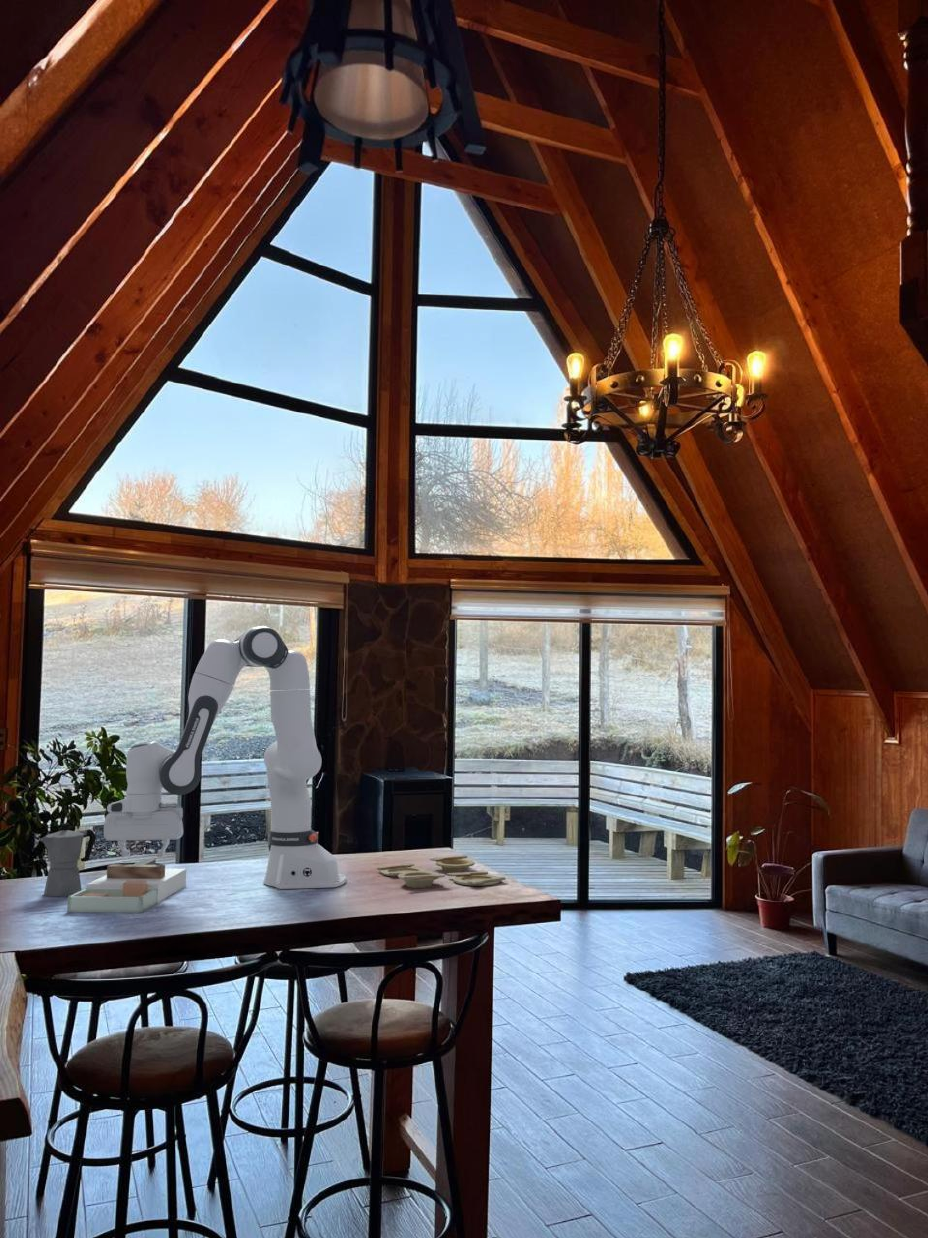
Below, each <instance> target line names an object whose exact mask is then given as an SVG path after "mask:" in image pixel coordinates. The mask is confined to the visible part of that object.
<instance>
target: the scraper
mask: <svg viewBox="0 0 928 1238" xmlns="http://www.w3.org/2000/svg"><path fill="white" fill-rule="evenodd" d="M156 859H157V858H143V859H141V860H140V861H137V862H136V863H134V864H133V863H132V864H127V863H126V864H121V863H120V864H117V863H116V864H110V865H108V866H107V867H106V875H107V878H116V879H161V878H163V877H165V869H166V865H165V864H157V863H156Z"/></svg>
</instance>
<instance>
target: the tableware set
mask: <svg viewBox="0 0 928 1238" xmlns="http://www.w3.org/2000/svg"><path fill="white" fill-rule="evenodd" d="M467 858H468V855H466V854H464V855H463V854H462V855H455V856H445V857H438V856H437V857H435V856H434V857H430V858H429V860H430V861H432V862H435V866H438V867H440V868H441V869H442V871H443V873H438V872H432V871H430V870H429V871H428V870H427V869H425V868H422V867H418V866H415V864H414V863H410V862H409V863H408V862H407V863H400V864H397V865H396V864H394V865H385V866H377V867H376V870H378V871H380V874H381V875H383V876H388V877H392V878H393V877H395V878H399V879H400V880H403V882H404V884H405V885H406V887H408V888H413V889H414V888H415V889H423V888H424V889H425V888H430V887H432V885H433V883H434V881H435V880H438V879H440V878H445V877H446V876H447V877H453V879H452V881H453V882H454V883H456V884H457V885H464V886H470V887H471V886H472V887H473V886H474V887H475V886H477V887H479V886H481V887H482V886H485V887H487V886H493V885H497V884H500V883H502V881H506V880H507V879H506V876H497V875H492V874H489V871H487V870H486V871H468V869H469V868H470V867H473V866H475V863H476V862H475V861H474V860H472V859H467ZM445 873H446V874H445Z"/></svg>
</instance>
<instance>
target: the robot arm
mask: <svg viewBox="0 0 928 1238" xmlns="http://www.w3.org/2000/svg"><path fill="white" fill-rule="evenodd" d="M244 667H250V668H265V669H266V671H267V674H268V676H269V682H270V683H269V696H270V697H269V698H270V699H269V701H270V703H269V705H270V720H271V723H272V726H273V729H274V734H275V738H276V741H274V742H272V743H270V744H269V745H268V746H267V748H266V749H265V751H264V754H263V763H264V766H265V767H266V776H267V784H268V789H269V790H268V791H269V798H270V830H269V831H268V836H267V837H268V838H267V847H268V860H267V867H266V871H265V876H264V879H263V885H267V886H269V887H275V888H277V889H280V890H281V889H282V890H285V889H290V890H291V889H317V888H318V889H320V888H321V889H322V888H324V889H325V888H337V887H341V886H342V885H344V884H345V883H347V876H346V875H345V874H341V873H339V872H340V871H339V865H338V862H337V859H336V857H335V856H334V855H333V854H332V853H331V852H329V851H328V850H326V849H325V848H324V847H323V846H322V845H320V844H319V843H318V842H319V831H315V830H313V829H312V827H311V826H312V799H311V797H310V794H309V790H308V785H307V781H308V780H309V779H312V778H313V777H315V776H316V775H317V774H318V773H319V771H320V770H321V767H322V756H321V753H320V751H319V749H318V746H317V740H316V735H315V729H314V726H313V721H312V720H313V719H312V710H311V709H312V707H311V706H312V705H311V684H310V683H311V680H310V671H309V668H308V663H307V659H306V657H305V655H304V654H303V653H301V652H300V651H298V650H297V651H296V650H292V649H291V650H289V649H288V647H287V645H286V644H285V641H284V640H283V638H282V637H281V635H280V634H279V633H278V632H277V631H276V630H275V629H274V628H272V627H270V626H266V625H260V626H254V627H251V628H249V629H247V630H246V631H245V632H244V633H243V634H241V635H240V636H239V637H238V638H237V639H235V640H234V641H231V640H228V639H216V640H213V641H211V642H210V643H209V644H208V646H207V647H206V649H205V651H204V652H203V654H202V656H201V658H200V659H199V661H198V664H197V666H196V668H195V671H194V673H193V675H192V678H191V681H190V682H191V683H190V685H189V690H188V717H187V720H186V723H185V727H184V730H183V733H182V736H181V738H180V740H179V743H178V746H177V748H176V750H174V749H172V748H169V747H166V746H165V745H163V744H161V743H160V742H159V741H156V740H150V741H145V742H140V743H137V744H134V745H133V746H131V747H130V749H129V750H128V752H127V756H126V766H125V767H126V768H125V770H126V771H125V776H126V777H125V778H126V782H127V788H126V791H125V798H121V799H119V800H118V801H115V802H111V803H110V804H108V805H107V807H106V811H107V812H108V813H107V814H106V816H105V818H104V823H103V837H104V839H105V840H106V841H117V847H118V848H119V849H120V851H121V858H123V859H124V858H126V859H127V858H130V857H131V850H130V849H127V847H126V845H125V844H126V843H127V841H160V840H161V844H162V847H161V849H160V848H159V849H158V850H157V858H165V857H166V850H167V848H168V847H169V844H170V842H171V841H170V840H172V841H173V840H179V839H180V838H182V837H183V835H184V824H183V816H184V815H183V814H184V809H183V806H181V805H179V804H178V803H176V802H175V803H174V802H172V803H166V802H165V803H162V789H164V790H165V791H166V792H168V793H169V794H172V795H175V796H182V795H183V796H184V795H187V794H190V793H192V791H194V790H195V789H196V788H197V787H198V785H199V783H200V781H201V776H202V767H201V758H202V754H203V751H204V748H205V746H206V744H207V743H206V742H207V741H208V737H209V735H210V732H211V729H212V727H213V725H214V723H215V721H216V719H217V717H218V716H219V714H220V713H221V711H222V710H223V708H224V707H225V705H226V704H227V701H228V700H229V699H230V695H231V694H232V691H233V690H234V686H235V685H236V681H237V677H238V676H239V674H240V672H241V671H242V669H244Z"/></svg>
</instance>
